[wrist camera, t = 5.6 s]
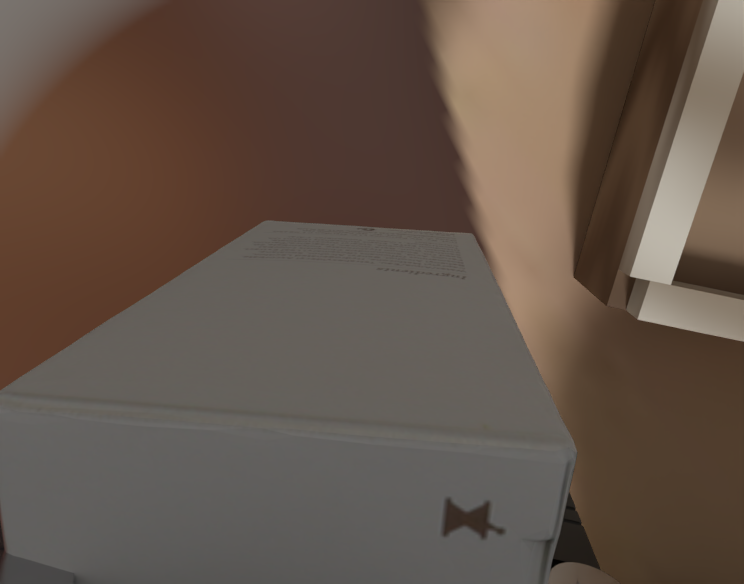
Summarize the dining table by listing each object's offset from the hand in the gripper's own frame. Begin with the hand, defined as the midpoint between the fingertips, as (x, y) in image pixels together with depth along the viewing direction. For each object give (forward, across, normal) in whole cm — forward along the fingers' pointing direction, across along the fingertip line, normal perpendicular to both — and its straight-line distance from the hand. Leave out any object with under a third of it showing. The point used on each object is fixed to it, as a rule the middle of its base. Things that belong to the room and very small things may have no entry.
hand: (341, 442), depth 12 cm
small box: (+4, 0, 0) cm, 4 cm away
